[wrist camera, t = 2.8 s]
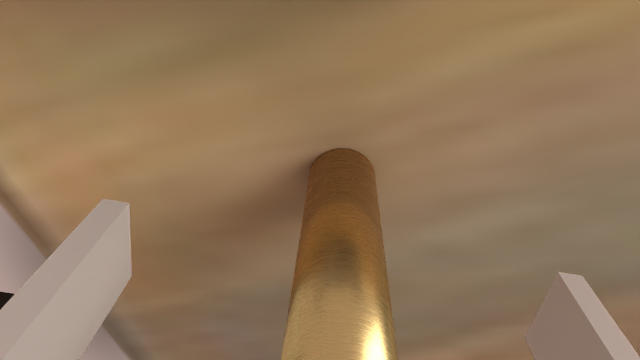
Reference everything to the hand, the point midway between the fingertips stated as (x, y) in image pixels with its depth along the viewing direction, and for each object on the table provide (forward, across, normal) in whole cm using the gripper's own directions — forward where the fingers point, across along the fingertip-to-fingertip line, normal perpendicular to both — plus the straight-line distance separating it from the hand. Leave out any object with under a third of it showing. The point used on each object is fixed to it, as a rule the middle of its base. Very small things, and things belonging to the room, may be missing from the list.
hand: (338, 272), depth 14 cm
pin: (+6, 0, 0) cm, 6 cm away
